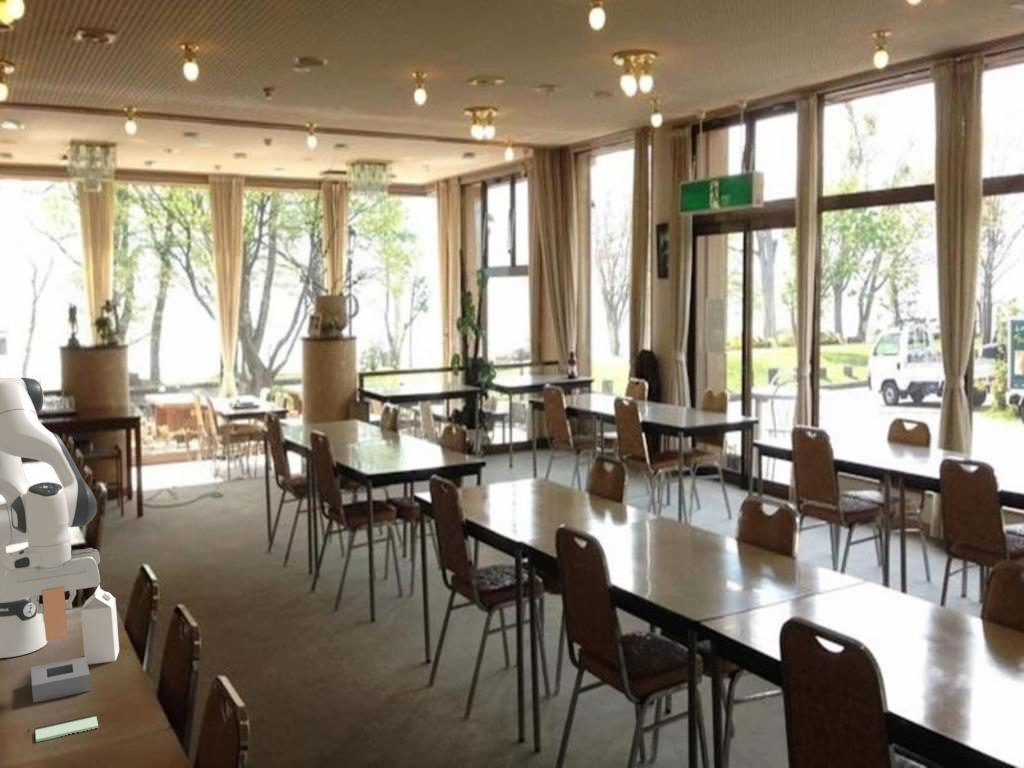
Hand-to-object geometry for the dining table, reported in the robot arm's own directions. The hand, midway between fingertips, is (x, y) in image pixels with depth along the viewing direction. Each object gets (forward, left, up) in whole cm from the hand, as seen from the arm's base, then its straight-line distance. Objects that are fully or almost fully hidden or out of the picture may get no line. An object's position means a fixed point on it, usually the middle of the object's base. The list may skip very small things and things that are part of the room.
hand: (54, 610), depth 216 cm
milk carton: (-4, +16, -20) cm, 26 cm away
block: (0, 0, -6) cm, 6 cm away
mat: (+14, -11, -20) cm, 26 cm away
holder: (0, 0, -20) cm, 20 cm away
